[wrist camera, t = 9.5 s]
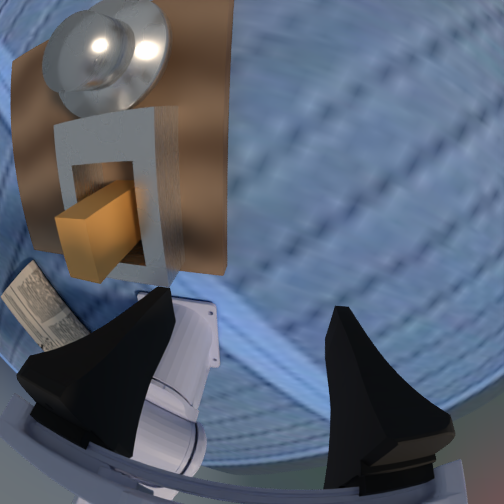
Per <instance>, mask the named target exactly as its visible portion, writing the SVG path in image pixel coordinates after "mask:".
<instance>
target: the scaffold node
mask: <svg viewBox="0 0 504 504" xmlns="http://www.w3.org/2000/svg"><path fill="white" fill-rule="evenodd" d="M171 50H172V28H171V25H170V21H169V19H168V17H167V15H166V14H165V12H164V11H163V10H162V9H161V8H160V7H159V6H158V5H156V4H155V3H153V2H151V1H150V0H103V1H101V2H99V3H97V4H96V5H94V6H93V7H91V8H90V9H89V10H84V11H80V12H77V13H74V14H73V15H71V16H69V17H68V18H66V19H65V20H64V21H63V22H62V23H61V24H60V25H59V26H58V27H57V28H56V30H55V31H54V32H53V34H52V36H51V37H50V39H49V41H48V43H47V46H46V48H45V51H44V55H43V61H42V73H43V77H44V80H45V82H46V84H47V86H48V87H49V88H50V89H51V90H53V91H55V92H58V93H59V96H60V98H61V100H62V102H63V104H64V105H65V106H66V107H67V109H68V110H70V111H71V112H72V113H73V114H75V115H76V116H79V117H81V118H80V119H76V120H72V121H68V122H64V123H60V124H56V125H54V139H55V150H56V159H57V167H58V174H59V181H60V187H61V193H62V199H63V204H64V209H65V210H67V209H68V208H70V207H71V206H73V205H75V204H76V203H78V202H79V201H81V200H83V199H84V198H86V197H88V196H90V195H91V194H93V193H95V192H96V191H98V190H100V189H102V188H103V187H105V185H104V177H103V168H102V163H105V162H120V161H133V172H134V183H135V193H136V202H137V210H138V218H139V225H140V232H141V239H142V240H140V241H139V242H138V243H137V244H136V245H135V246H134V247H133V248H132V249H131V250H130V251H129V253H128V254H127V255H126V256H125V257H124V258H123V259H122V260H121V261H120V262H119V263H118V264H117V266H116V267H115V268H114V269H113V270H112V271H111V272H110V273H109V274H108V276H107V278H113V279H119V280H125V281H131V282H137V283H143V284H149V285H156V286H163V287H170V285H171V284H172V282H173V280H174V279H175V277H176V275H177V274H178V272H179V270H180V269H181V267H182V266H183V264H184V262H185V251H184V240H183V227H182V213H181V197H180V177H179V144H178V106H155V107H146V108H138V109H133V108H134V107H135V106H137V105H138V104H139V103H141V102H142V101H143V100H144V99H145V98H146V97H147V96H148V95H149V94H150V93H151V92H152V90H153V89H154V88H155V86H156V85H157V84H158V82H159V80H160V79H161V77H162V75H163V73H164V71H165V69H166V67H167V64H168V62H169V59H170V55H171Z"/></svg>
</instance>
